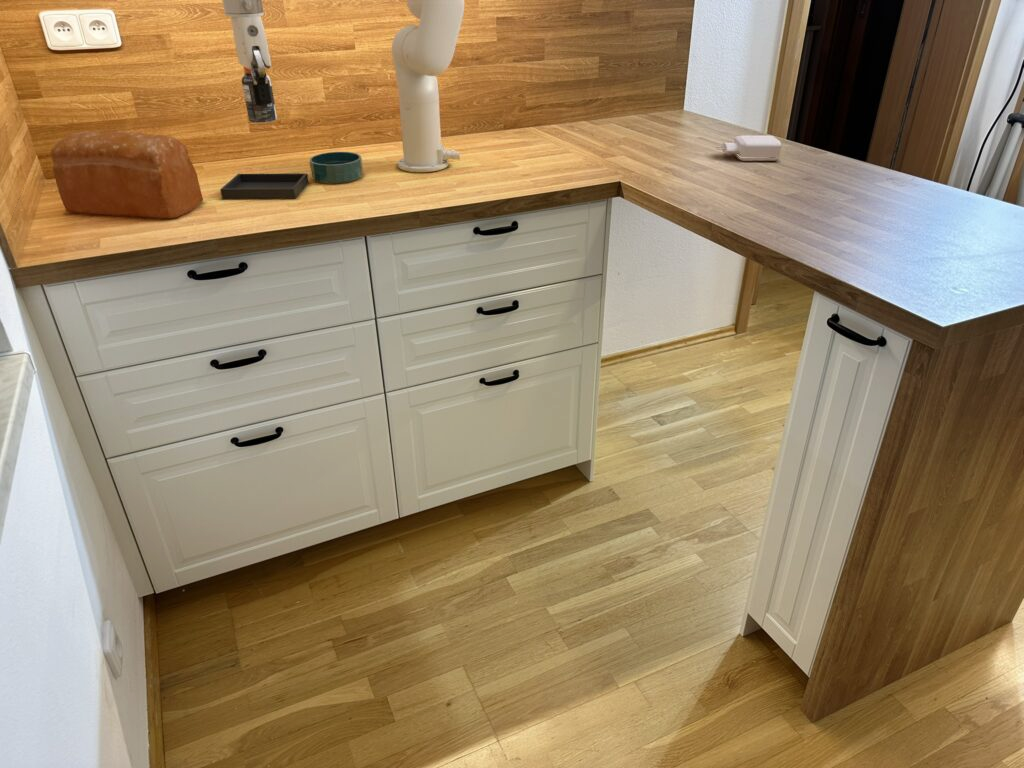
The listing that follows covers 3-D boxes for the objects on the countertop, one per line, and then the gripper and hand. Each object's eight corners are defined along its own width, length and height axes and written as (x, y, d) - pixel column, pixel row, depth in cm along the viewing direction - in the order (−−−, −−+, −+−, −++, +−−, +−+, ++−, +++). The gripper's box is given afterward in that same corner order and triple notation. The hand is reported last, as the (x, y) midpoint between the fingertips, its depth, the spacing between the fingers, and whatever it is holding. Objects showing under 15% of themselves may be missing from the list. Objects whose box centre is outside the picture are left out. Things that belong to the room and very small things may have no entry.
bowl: (367, 170, 180) (365, 151, 177) (358, 184, 170) (356, 165, 167) (318, 170, 180) (315, 151, 177) (306, 184, 170) (303, 165, 167)
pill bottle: (281, 117, 161) (272, 62, 155) (271, 124, 156) (261, 67, 150) (255, 117, 162) (245, 62, 156) (244, 123, 157) (233, 66, 151)
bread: (102, 195, 164) (79, 122, 155) (209, 201, 160) (192, 127, 151) (59, 215, 152) (32, 137, 144) (173, 222, 148) (153, 143, 140)
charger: (710, 152, 192) (768, 152, 192) (718, 162, 184) (778, 162, 184) (713, 134, 190) (771, 134, 190) (721, 143, 182) (782, 143, 182)
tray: (308, 182, 171) (307, 173, 170) (295, 198, 161) (294, 189, 160) (239, 182, 171) (237, 173, 170) (222, 199, 161) (220, 189, 160)
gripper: (273, 9, 143) (288, 106, 152) (252, 3, 155) (267, 93, 165) (233, 11, 139) (251, 110, 149) (215, 5, 152) (233, 96, 162)
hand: (259, 100), depth 157 cm, fingers closed on pill bottle, 6 cm apart
